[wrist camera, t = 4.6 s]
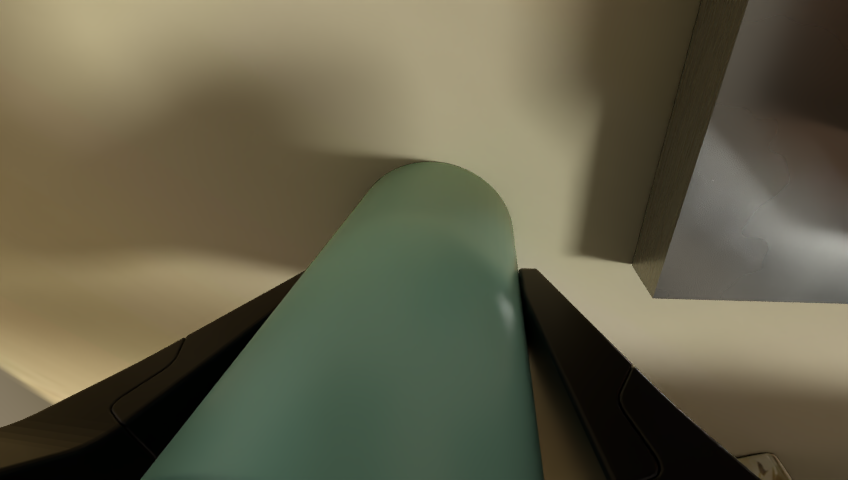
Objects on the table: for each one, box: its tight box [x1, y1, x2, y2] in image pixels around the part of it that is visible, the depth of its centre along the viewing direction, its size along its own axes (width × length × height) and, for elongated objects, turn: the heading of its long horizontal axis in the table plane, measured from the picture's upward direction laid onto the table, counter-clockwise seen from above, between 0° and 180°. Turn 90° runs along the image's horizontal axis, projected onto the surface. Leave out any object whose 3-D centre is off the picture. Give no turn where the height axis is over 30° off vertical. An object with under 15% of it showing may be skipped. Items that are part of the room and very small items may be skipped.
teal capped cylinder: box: [140, 162, 544, 480], centre depth 7 cm, size 5×5×9 cm
